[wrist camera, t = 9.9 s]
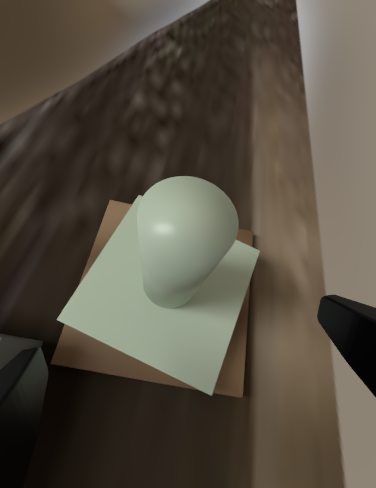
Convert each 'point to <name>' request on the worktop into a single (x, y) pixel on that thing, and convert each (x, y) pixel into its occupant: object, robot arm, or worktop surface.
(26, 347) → the storage box
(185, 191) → the lid
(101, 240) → the walnut board
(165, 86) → the worktop surface
